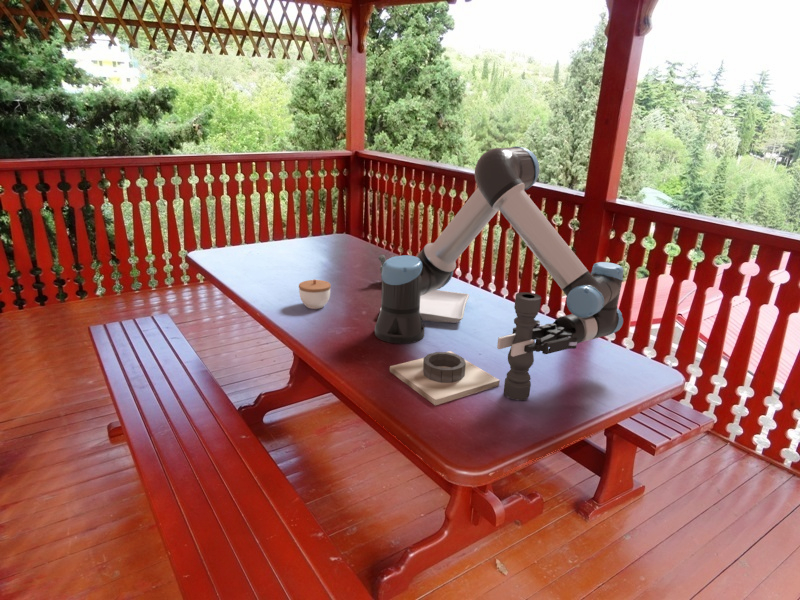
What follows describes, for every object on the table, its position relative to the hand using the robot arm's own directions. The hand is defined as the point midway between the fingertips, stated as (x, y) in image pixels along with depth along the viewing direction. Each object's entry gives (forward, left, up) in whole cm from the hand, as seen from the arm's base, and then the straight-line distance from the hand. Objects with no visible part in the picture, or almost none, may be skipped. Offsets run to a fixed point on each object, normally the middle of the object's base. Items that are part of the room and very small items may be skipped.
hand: (505, 346), depth 125 cm
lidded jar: (-81, -11, -14) cm, 83 cm away
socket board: (-16, -5, -14) cm, 22 cm away
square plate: (-60, +21, -15) cm, 65 cm away
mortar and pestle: (-91, +26, -14) cm, 96 cm away
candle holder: (0, +5, -14) cm, 15 cm away
